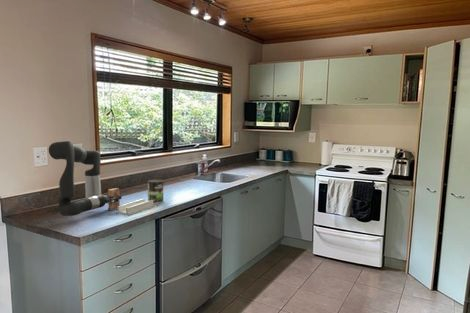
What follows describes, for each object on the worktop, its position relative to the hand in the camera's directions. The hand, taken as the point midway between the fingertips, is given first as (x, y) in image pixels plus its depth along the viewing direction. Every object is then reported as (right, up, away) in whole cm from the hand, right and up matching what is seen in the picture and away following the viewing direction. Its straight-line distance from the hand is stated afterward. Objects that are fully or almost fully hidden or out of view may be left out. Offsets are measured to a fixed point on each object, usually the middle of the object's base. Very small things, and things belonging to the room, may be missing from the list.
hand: (116, 196), depth 211 cm
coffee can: (+20, -6, +16) cm, 26 cm away
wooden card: (-1, -7, -1) cm, 7 cm away
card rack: (+13, -8, -3) cm, 15 cm away
